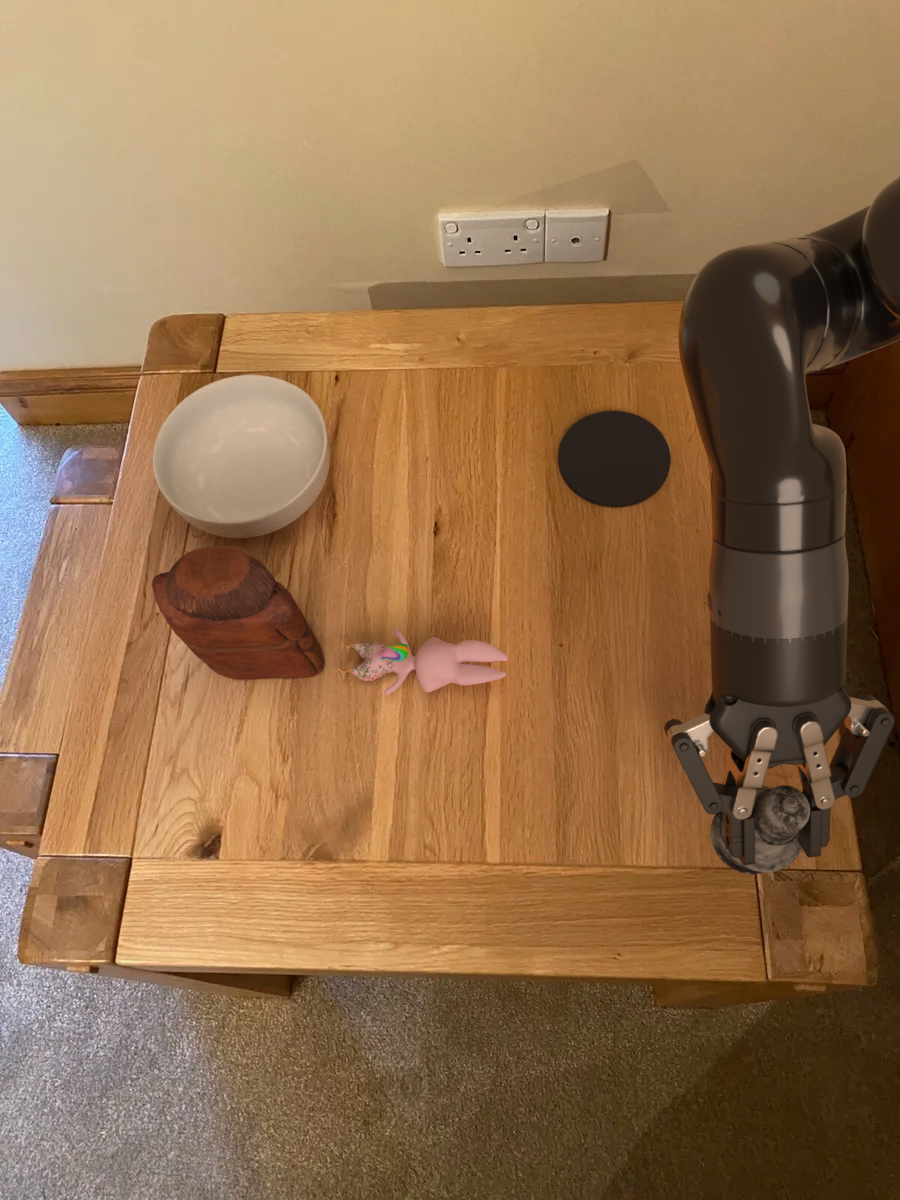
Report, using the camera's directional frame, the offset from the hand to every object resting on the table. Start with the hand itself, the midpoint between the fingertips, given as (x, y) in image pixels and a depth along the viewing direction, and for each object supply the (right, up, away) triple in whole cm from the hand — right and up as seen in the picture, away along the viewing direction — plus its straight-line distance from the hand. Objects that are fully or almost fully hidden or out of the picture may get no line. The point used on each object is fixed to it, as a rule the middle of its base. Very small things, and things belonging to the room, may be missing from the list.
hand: (776, 852), depth 57 cm
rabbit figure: (-23, +10, +23) cm, 34 cm away
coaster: (-5, +30, +31) cm, 43 cm away
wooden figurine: (-38, +11, +25) cm, 47 cm away
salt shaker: (0, -1, +6) cm, 6 cm away
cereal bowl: (-41, +28, +32) cm, 59 cm away
